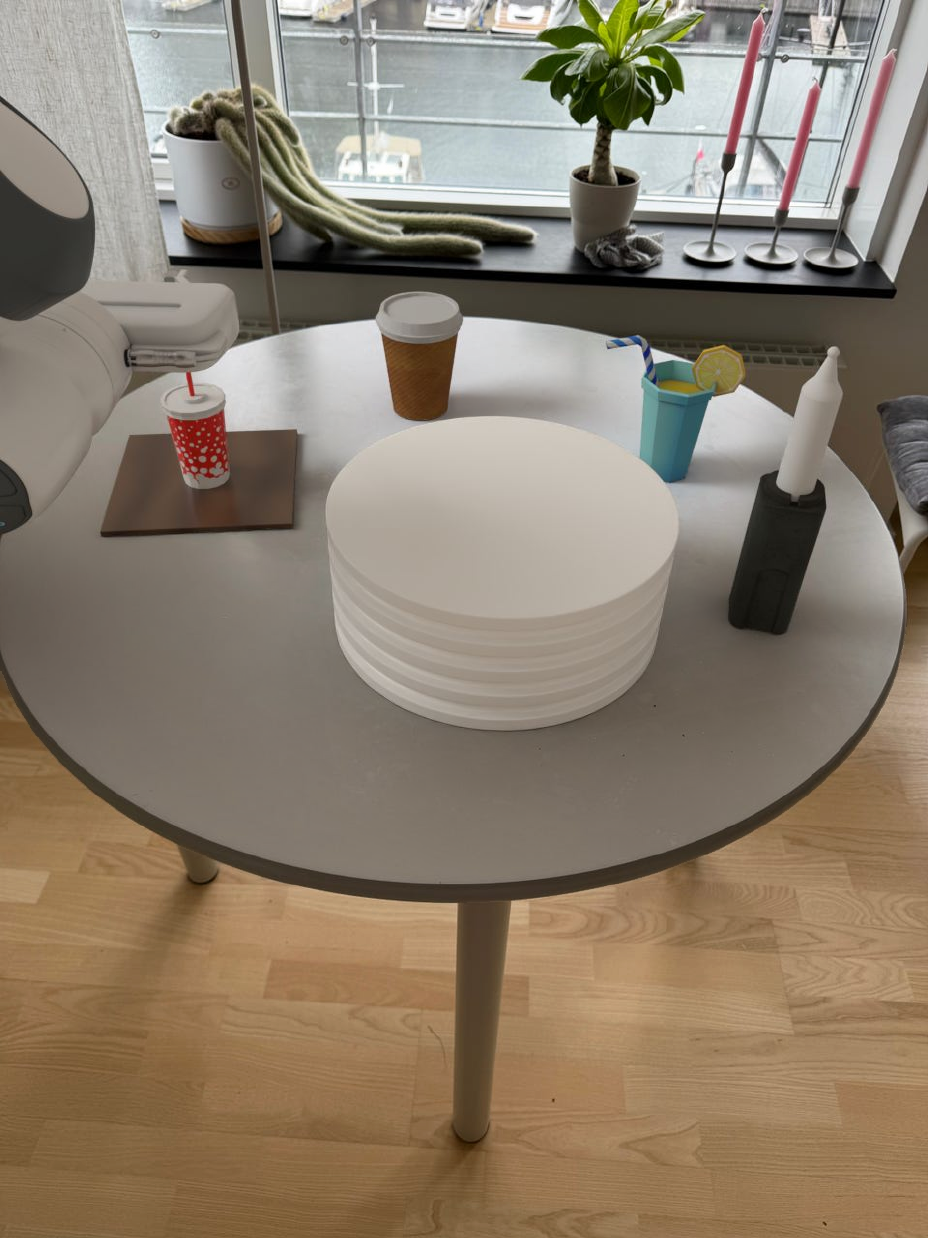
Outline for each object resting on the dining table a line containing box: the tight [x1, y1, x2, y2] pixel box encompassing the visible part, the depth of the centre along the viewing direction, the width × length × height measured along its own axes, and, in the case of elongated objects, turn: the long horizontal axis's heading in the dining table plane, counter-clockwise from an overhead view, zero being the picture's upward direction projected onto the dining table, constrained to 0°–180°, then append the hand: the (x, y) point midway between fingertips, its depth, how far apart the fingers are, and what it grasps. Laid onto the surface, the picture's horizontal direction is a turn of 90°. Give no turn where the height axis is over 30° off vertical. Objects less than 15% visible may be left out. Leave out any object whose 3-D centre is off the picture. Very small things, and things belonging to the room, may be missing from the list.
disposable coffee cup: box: [375, 291, 464, 421], centre depth 108 cm, size 10×10×12 cm
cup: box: [605, 334, 747, 483], centre depth 98 cm, size 14×8×15 cm, turn 92°
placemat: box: [99, 428, 298, 537], centre depth 99 cm, size 18×18×1 cm
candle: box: [727, 345, 844, 635], centre depth 77 cm, size 5×5×25 cm
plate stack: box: [324, 415, 680, 732], centre depth 81 cm, size 28×28×12 cm
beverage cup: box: [159, 372, 230, 489], centre depth 94 cm, size 6×6×14 cm
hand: (118, 277), depth 73 cm, fingers open, 8 cm apart
